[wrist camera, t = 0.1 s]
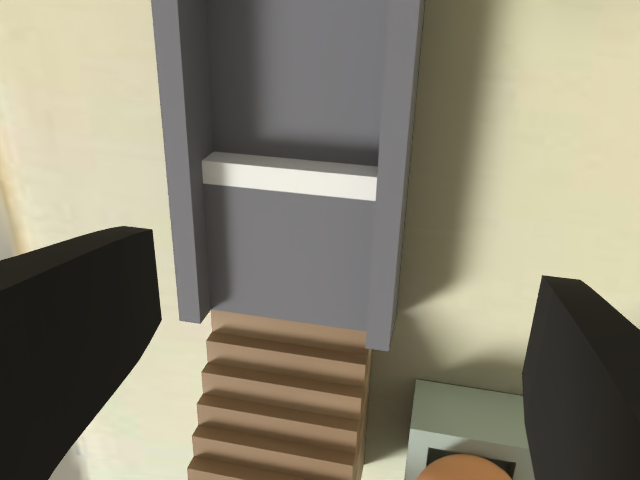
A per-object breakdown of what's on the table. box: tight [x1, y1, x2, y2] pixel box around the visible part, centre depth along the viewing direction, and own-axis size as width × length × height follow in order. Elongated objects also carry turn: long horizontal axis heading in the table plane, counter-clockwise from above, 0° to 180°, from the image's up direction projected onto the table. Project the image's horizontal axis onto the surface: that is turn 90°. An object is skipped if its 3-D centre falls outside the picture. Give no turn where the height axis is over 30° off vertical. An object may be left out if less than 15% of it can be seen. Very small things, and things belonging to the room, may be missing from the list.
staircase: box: [187, 310, 372, 480], centre depth 22 cm, size 8×6×6 cm
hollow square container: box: [404, 379, 535, 480], centre depth 23 cm, size 4×4×3 cm
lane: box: [151, 0, 425, 352], centre depth 19 cm, size 13×8×4 cm, turn 178°
